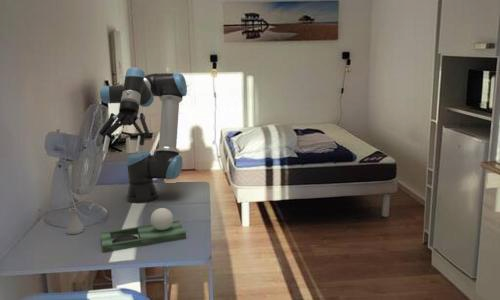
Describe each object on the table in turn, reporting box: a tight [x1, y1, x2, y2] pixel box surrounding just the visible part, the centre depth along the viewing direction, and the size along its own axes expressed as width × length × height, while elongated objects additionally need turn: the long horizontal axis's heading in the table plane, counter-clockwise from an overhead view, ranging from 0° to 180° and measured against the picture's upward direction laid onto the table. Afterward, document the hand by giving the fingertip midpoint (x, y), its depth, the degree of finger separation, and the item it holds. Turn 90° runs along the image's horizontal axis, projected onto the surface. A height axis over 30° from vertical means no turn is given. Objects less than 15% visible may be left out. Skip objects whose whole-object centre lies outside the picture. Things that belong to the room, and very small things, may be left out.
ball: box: [150, 207, 174, 230], centre depth 194 cm, size 9×9×9 cm
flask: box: [65, 207, 85, 235], centre depth 201 cm, size 7×7×10 cm
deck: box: [100, 220, 187, 253], centre depth 192 cm, size 14×32×2 cm, turn 109°
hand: (121, 152), depth 185 cm, fingers open, 13 cm apart
